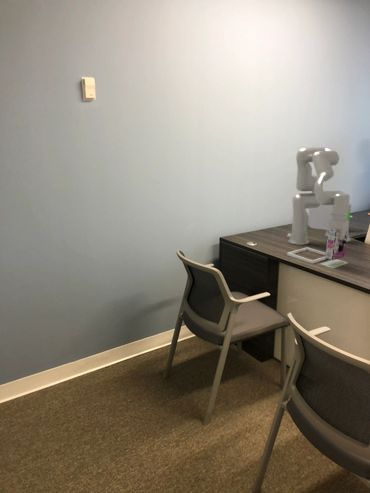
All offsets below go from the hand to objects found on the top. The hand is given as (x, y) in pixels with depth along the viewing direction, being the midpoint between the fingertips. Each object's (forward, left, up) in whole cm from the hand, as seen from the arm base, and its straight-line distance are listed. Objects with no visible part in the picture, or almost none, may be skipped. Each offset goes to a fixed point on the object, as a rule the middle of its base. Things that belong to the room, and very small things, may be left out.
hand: (335, 249), depth 204 cm
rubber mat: (0, 0, -8) cm, 8 cm away
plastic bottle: (-25, +41, -8) cm, 49 cm away
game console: (-47, +60, -8) cm, 77 cm away
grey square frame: (-16, 0, -8) cm, 18 cm away
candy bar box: (0, 0, -5) cm, 5 cm away
